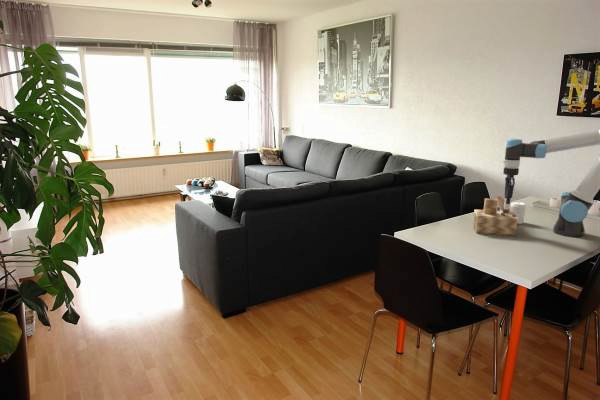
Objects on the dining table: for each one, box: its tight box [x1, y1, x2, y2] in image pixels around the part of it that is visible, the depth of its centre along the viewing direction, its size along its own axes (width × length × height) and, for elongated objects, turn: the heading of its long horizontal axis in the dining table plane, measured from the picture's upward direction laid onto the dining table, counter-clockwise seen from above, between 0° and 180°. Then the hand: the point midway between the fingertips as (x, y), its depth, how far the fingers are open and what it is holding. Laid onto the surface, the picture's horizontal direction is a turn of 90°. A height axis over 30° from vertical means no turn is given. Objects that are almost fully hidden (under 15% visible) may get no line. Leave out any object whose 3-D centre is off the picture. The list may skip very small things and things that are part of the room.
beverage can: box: [510, 201, 526, 225], centre depth 264 cm, size 8×8×12 cm
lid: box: [473, 197, 518, 220], centre depth 245 cm, size 21×14×9 cm
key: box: [496, 195, 509, 212], centre depth 258 cm, size 3×24×4 cm, turn 165°
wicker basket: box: [472, 205, 518, 237], centre depth 250 cm, size 20×20×12 cm
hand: (506, 209), depth 246 cm, fingers closed
